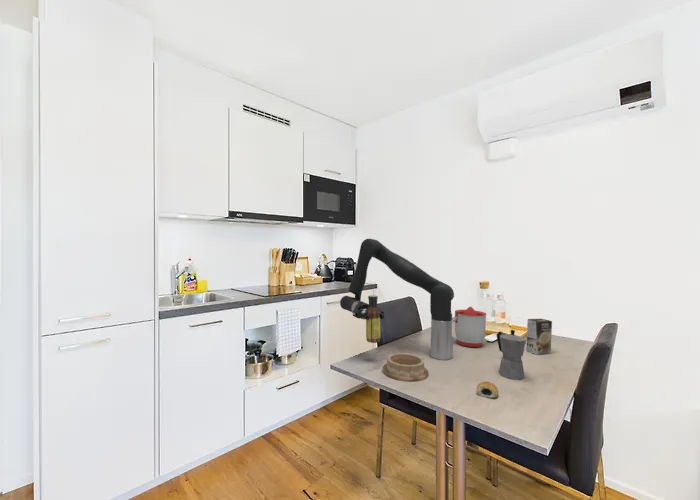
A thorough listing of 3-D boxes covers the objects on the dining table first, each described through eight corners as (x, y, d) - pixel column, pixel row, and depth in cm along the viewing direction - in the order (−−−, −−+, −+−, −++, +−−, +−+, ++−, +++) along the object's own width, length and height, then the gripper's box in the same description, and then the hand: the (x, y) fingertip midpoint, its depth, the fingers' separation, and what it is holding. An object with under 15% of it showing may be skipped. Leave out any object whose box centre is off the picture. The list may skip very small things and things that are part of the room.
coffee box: (537, 355, 152) (538, 321, 152) (525, 351, 158) (526, 318, 158) (551, 353, 155) (552, 320, 155) (539, 349, 161) (540, 318, 161)
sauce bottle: (381, 340, 140) (383, 295, 140) (378, 344, 134) (379, 297, 134) (367, 338, 142) (368, 294, 142) (363, 342, 136) (364, 296, 136)
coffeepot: (534, 381, 121) (535, 334, 121) (513, 382, 119) (514, 334, 119) (506, 366, 136) (507, 324, 136) (486, 367, 134) (487, 325, 134)
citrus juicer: (448, 339, 176) (449, 303, 176) (480, 341, 173) (482, 304, 173) (453, 347, 160) (454, 308, 160) (489, 350, 158) (490, 310, 158)
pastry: (479, 385, 116) (479, 375, 116) (499, 390, 112) (499, 379, 112) (475, 395, 108) (476, 384, 107) (497, 401, 104) (498, 389, 104)
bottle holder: (413, 362, 138) (413, 350, 138) (437, 378, 121) (438, 365, 121) (375, 366, 132) (375, 354, 132) (395, 383, 115) (395, 370, 115)
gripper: (347, 302, 149) (360, 309, 133) (375, 301, 154) (390, 307, 138) (346, 318, 149) (359, 327, 133) (375, 316, 154) (390, 325, 138)
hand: (375, 317), depth 135 cm, fingers closed on sauce bottle, 6 cm apart
